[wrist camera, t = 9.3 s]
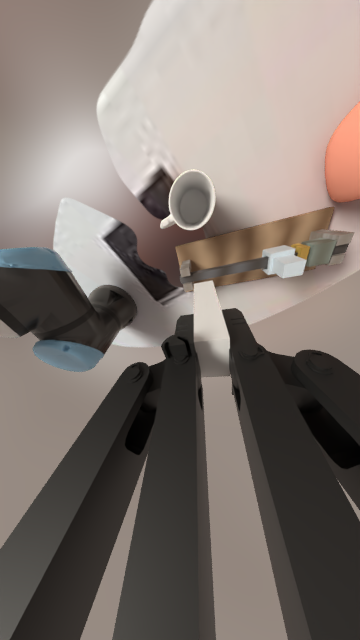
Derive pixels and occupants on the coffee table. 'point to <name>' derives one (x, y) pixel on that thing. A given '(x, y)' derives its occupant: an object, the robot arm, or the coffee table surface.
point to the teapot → (344, 159)
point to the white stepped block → (283, 262)
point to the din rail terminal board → (261, 249)
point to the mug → (190, 201)
